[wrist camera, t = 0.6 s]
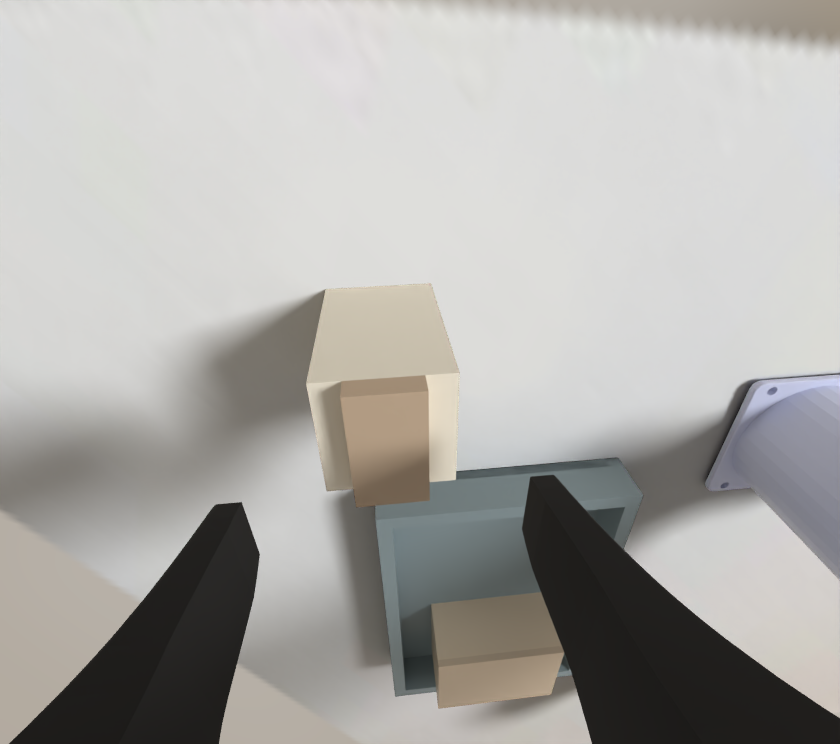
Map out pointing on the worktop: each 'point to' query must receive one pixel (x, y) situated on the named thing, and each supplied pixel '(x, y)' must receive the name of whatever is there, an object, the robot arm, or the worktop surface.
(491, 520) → the tray
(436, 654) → the tan stepped block
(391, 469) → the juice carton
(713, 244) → the worktop surface
